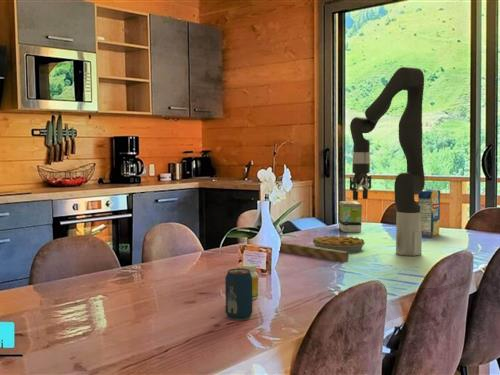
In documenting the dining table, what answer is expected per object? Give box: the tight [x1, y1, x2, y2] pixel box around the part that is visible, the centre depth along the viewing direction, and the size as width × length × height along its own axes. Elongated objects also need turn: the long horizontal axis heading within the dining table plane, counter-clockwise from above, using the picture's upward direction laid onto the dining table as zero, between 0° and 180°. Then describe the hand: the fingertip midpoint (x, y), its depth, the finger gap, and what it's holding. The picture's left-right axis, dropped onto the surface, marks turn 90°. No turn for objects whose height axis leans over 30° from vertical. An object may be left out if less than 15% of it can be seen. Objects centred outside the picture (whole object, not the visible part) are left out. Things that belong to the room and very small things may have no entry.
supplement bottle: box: [241, 263, 259, 301], centre depth 165 cm, size 5×5×10 cm
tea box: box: [338, 200, 363, 233], centre depth 299 cm, size 15×10×15 cm
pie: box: [312, 235, 366, 254], centre depth 244 cm, size 22×22×5 cm
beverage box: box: [417, 189, 441, 238], centre depth 283 cm, size 7×11×22 cm, turn 141°
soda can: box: [224, 267, 253, 321], centre depth 146 cm, size 7×7×12 cm
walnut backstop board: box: [279, 241, 349, 263], centre depth 230 cm, size 36×3×4 cm, turn 46°
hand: (360, 199), depth 255 cm, fingers open, 7 cm apart
